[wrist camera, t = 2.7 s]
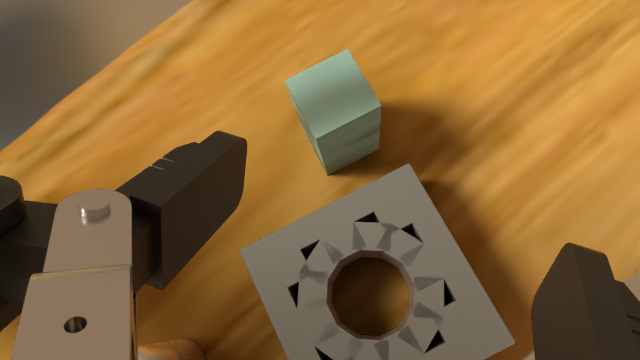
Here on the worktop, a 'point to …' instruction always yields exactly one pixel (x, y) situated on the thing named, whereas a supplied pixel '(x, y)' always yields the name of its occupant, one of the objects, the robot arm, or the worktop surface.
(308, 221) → the socket block
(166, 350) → the steel peg
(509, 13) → the worktop surface
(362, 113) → the square peg
